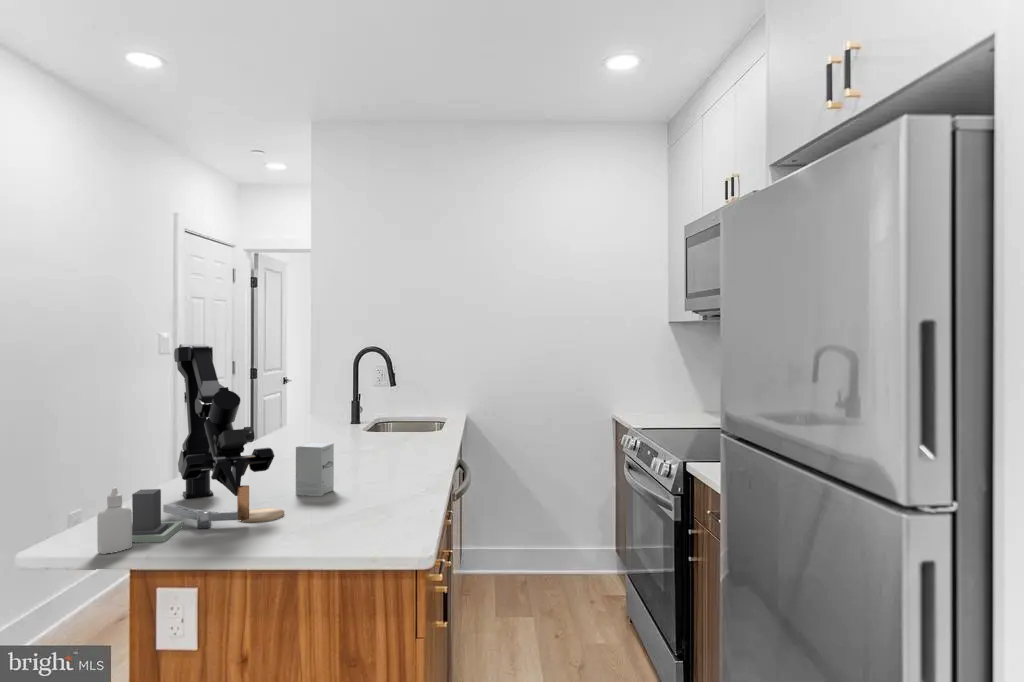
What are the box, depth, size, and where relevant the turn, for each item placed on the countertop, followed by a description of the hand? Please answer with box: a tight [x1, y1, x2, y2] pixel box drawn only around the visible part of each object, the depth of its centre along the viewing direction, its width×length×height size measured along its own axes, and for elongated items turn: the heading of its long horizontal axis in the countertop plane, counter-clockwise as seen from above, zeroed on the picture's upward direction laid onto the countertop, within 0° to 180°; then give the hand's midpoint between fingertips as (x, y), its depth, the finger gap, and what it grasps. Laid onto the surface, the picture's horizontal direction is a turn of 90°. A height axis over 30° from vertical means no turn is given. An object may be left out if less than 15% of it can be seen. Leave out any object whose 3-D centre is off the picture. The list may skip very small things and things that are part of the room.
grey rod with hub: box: [163, 484, 250, 529], centre depth 148 cm, size 21×8×8 cm, turn 58°
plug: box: [131, 488, 168, 535], centre depth 139 cm, size 6×6×9 cm
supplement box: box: [295, 442, 335, 497], centre depth 175 cm, size 7×7×13 cm
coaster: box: [240, 507, 285, 523], centre depth 153 cm, size 10×10×1 cm
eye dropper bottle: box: [96, 487, 133, 555], centre depth 129 cm, size 4×6×12 cm
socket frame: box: [132, 520, 184, 544], centre depth 139 cm, size 10×10×1 cm
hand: (237, 494), depth 146 cm, fingers closed
